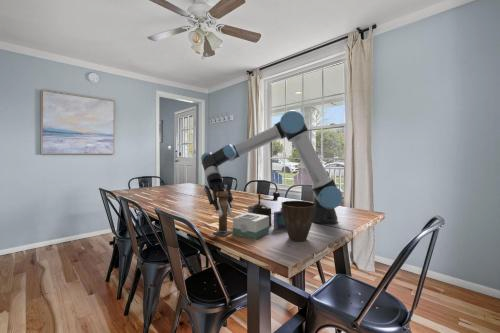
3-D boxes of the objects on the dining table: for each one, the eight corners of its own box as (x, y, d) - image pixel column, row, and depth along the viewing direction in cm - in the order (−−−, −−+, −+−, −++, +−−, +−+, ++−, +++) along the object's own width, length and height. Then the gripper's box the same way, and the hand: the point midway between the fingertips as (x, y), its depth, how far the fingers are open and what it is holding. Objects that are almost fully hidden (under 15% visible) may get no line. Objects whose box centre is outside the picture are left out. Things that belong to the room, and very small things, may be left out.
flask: (274, 230, 123) (274, 209, 122) (272, 228, 126) (272, 207, 125) (291, 228, 126) (291, 207, 125) (288, 226, 129) (288, 206, 128)
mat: (233, 232, 119) (233, 231, 119) (223, 236, 113) (223, 235, 113) (222, 230, 123) (222, 229, 123) (212, 234, 117) (212, 232, 117)
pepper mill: (253, 228, 126) (253, 193, 126) (247, 222, 137) (247, 190, 136) (281, 225, 131) (281, 192, 130) (273, 220, 142) (273, 189, 141)
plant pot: (291, 231, 121) (291, 199, 120) (320, 237, 111) (320, 203, 110) (274, 239, 109) (275, 204, 108) (305, 247, 100) (305, 208, 99)
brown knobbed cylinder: (230, 229, 118) (230, 191, 118) (223, 232, 114) (223, 193, 113) (222, 227, 121) (222, 190, 120) (215, 230, 117) (215, 192, 116)
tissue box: (269, 232, 120) (269, 214, 119) (255, 239, 109) (255, 220, 109) (247, 227, 127) (247, 211, 126) (232, 234, 116) (232, 216, 116)
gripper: (226, 180, 134) (239, 217, 120) (196, 182, 126) (206, 221, 112) (230, 171, 129) (244, 208, 115) (199, 172, 121) (210, 212, 108)
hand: (225, 214), depth 114 cm, fingers closed on brown knobbed cylinder, 4 cm apart
